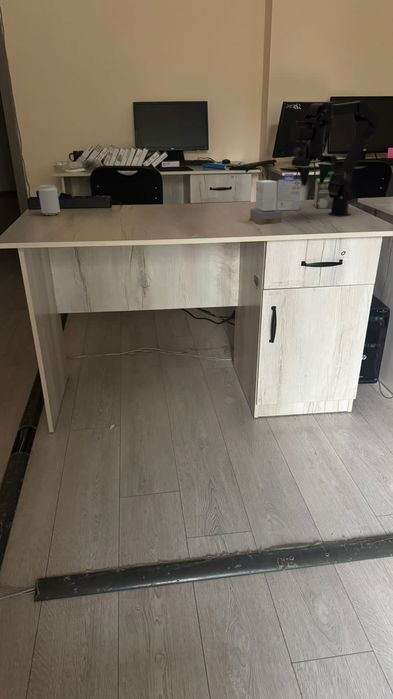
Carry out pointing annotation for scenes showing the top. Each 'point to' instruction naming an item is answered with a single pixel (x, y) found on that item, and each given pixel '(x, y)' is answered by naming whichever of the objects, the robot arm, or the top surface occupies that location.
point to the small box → (266, 195)
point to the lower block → (265, 220)
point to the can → (49, 199)
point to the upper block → (265, 214)
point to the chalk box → (323, 194)
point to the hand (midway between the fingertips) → (312, 184)
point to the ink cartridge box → (288, 193)
